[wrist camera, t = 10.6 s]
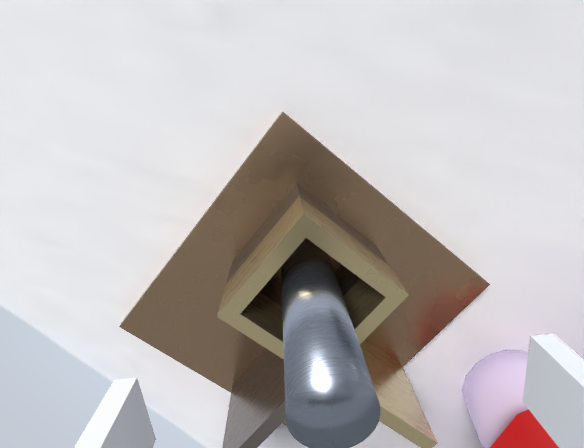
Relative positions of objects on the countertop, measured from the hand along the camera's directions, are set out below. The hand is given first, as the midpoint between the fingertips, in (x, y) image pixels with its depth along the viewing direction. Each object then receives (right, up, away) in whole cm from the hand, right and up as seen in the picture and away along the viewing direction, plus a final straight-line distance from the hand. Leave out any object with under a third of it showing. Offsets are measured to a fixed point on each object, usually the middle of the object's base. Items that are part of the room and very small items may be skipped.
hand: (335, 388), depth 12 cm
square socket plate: (-1, 0, +14) cm, 14 cm away
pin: (-1, +4, +11) cm, 12 cm away
